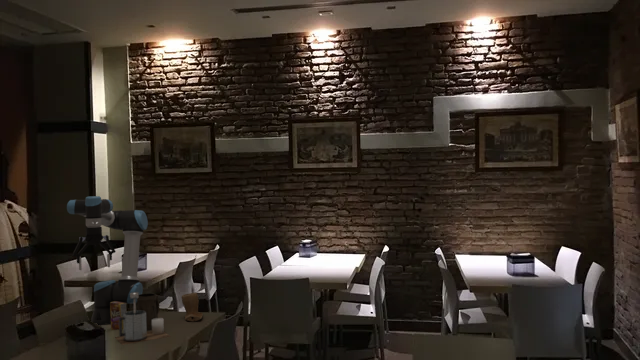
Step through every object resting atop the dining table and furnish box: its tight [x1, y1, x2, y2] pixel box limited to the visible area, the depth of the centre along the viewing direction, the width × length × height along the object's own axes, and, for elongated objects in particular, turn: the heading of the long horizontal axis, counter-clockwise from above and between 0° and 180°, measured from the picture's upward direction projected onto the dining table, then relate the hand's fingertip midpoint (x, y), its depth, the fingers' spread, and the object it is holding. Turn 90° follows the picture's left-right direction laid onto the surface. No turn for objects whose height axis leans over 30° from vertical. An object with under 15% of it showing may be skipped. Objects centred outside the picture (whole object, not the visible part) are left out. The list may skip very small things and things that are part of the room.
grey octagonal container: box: [118, 309, 148, 343], centre depth 279 cm, size 11×13×13 cm
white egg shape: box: [151, 317, 165, 334], centre depth 290 cm, size 6×6×7 cm
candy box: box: [110, 301, 128, 331], centre depth 302 cm, size 9×4×15 cm, turn 57°
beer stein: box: [136, 293, 160, 332], centre depth 301 cm, size 15×11×20 cm
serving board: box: [114, 330, 172, 346], centre depth 283 cm, size 16×24×2 cm, turn 122°
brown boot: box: [181, 292, 203, 322], centre depth 323 cm, size 15×12×15 cm
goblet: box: [130, 292, 139, 315], centre depth 280 cm, size 8×8×20 cm
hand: (94, 268), depth 283 cm, fingers open, 13 cm apart
